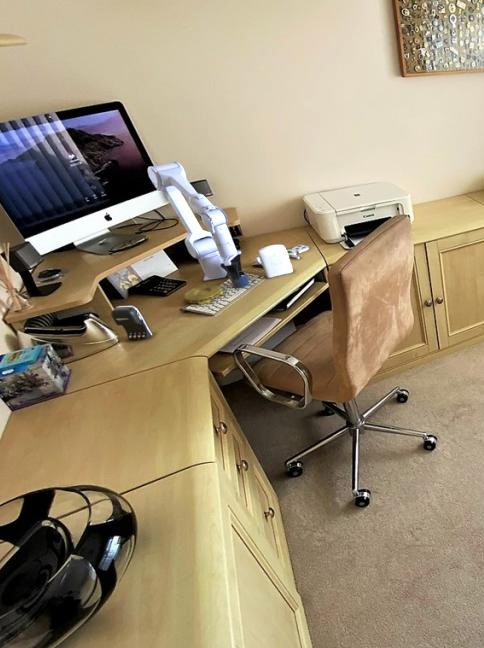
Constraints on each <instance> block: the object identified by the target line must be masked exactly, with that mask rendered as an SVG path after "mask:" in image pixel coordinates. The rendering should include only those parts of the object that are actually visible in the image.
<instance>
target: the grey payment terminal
mask: <svg viewBox="0 0 484 648" xmlns="http://www.w3.org/2000/svg"><path fill="white" fill-rule="evenodd" d="M110 315H111V317H112V319H113V321H114V323H115V324H116V325H117V326H122V328H123V329H124V330H125V333H126V336H127V339H128V340H130V341H141V340H146V339H149V338H151V336H153V335H154V333H153V331H152V330H151V328H150V326H149V324H148V322H147V320H146V319H145V317H144V315H143V314H142V312H141V310H140V308H138V307H137V306H135V305H118V306H116V307H115V308H114V309H112V311H111V312H110Z"/></svg>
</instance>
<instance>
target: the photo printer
mask: <svg viewBox="0 0 484 648" xmlns="http://www.w3.org/2000/svg"><path fill="white" fill-rule="evenodd" d="M287 250H288V249H286V247H285V245H284V244H272V245H268V246H264V247H262V248H260V249H259V250H258V256H259V257H260V260H261V263H262V264H261V265H262V268H263V271H264V274H265V276H266V278H267V279H270V278H271V279H272V278H275V277H279V276H284V275H288V274H291V273H293V272H294V269H293V266H292V262H291V259H290V257H289V256H288V253H287Z"/></svg>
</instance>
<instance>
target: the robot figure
mask: <svg viewBox="0 0 484 648" xmlns="http://www.w3.org/2000/svg"><path fill="white" fill-rule="evenodd" d="M286 250H287V253H288V256H289V258H293V259H296V260H300V259H301V256H300V255H298V254H301V253H304V252H306V251H308V250H310V246H309V245H306V244H299V245H296V246H294V247H291V248H290V249H286ZM255 260H256V262H257V264H258V265H259V266H260V265H262V263H261V260H260V257H259V255H258V256H255Z"/></svg>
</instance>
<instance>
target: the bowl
mask: <svg viewBox="0 0 484 648" xmlns="http://www.w3.org/2000/svg"><path fill="white" fill-rule="evenodd" d="M238 273H239V279H237V280H233V279H232V278H231V276H230V275H229V277H228V278H229V280H230V282H231V284H232V286H233V285H234V286H233V288H236V289H241V288H244V287H247V286H248V285H249V284H250V281H249V278H248V276H247V273H246V272H245V271H239V272H238Z"/></svg>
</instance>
